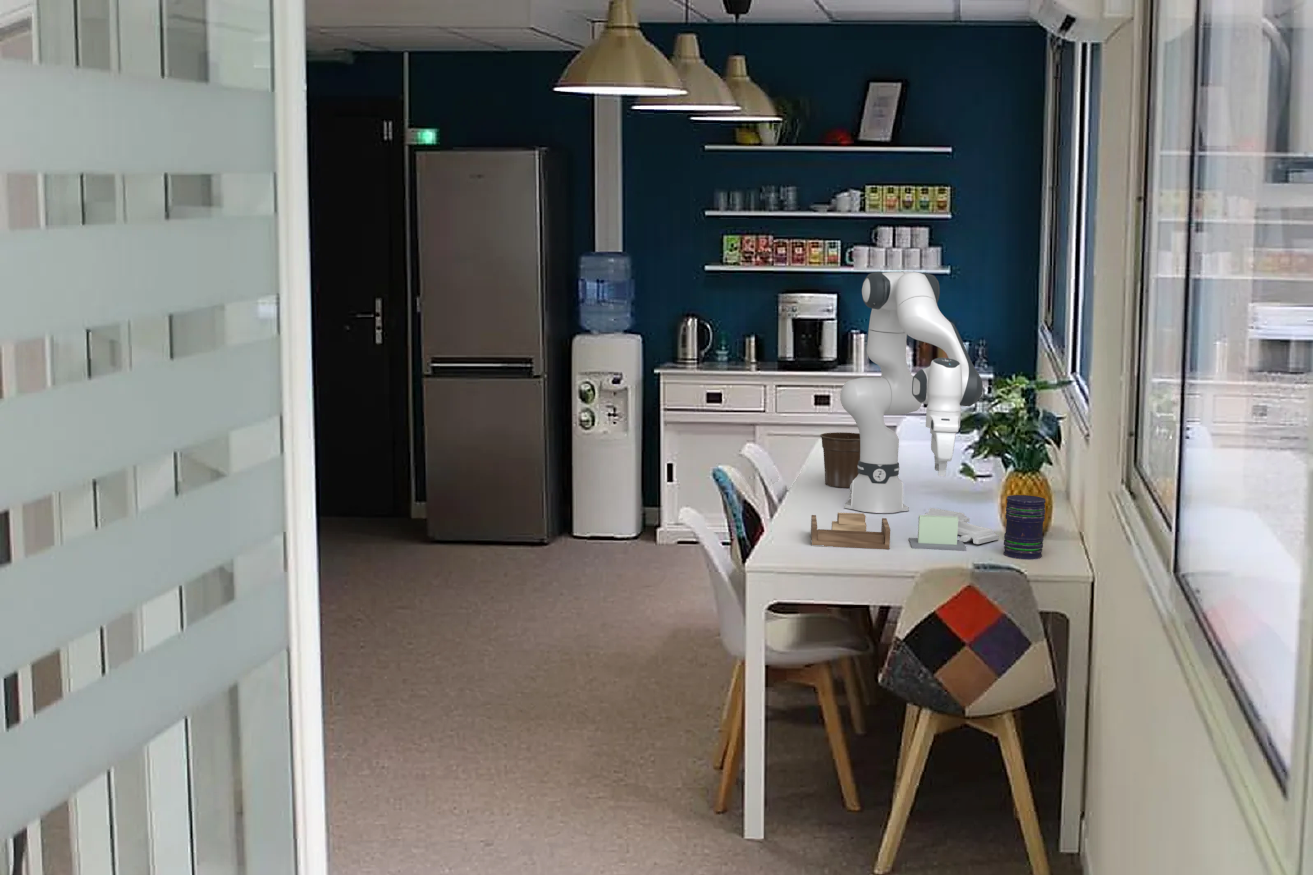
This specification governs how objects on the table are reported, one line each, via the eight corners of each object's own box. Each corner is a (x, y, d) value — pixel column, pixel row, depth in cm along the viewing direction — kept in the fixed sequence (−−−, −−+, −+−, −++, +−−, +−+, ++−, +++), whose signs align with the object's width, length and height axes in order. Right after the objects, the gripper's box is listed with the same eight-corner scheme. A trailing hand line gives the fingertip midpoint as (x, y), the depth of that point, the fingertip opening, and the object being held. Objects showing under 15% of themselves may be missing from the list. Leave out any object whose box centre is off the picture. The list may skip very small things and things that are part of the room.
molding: (920, 517, 468) (920, 507, 468) (960, 517, 470) (961, 507, 469) (963, 544, 426) (964, 533, 426) (1008, 544, 428) (1009, 534, 427)
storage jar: (1003, 558, 413) (1006, 500, 411) (1002, 550, 423) (1005, 494, 421) (1043, 560, 412) (1047, 502, 409) (1041, 553, 421) (1045, 496, 419)
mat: (908, 539, 433) (908, 537, 433) (961, 542, 432) (961, 540, 432) (911, 548, 422) (912, 545, 422) (966, 550, 421) (966, 548, 421)
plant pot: (813, 487, 514) (815, 436, 511) (823, 479, 529) (825, 430, 527) (864, 491, 509) (866, 440, 507) (872, 483, 524) (875, 434, 522)
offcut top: (837, 521, 435) (837, 512, 434) (863, 522, 435) (863, 513, 434) (838, 524, 431) (839, 515, 430) (865, 525, 431) (865, 516, 430)
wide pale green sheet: (917, 541, 429) (918, 514, 428) (955, 542, 428) (957, 516, 427) (918, 542, 426) (919, 516, 425) (956, 544, 425) (958, 518, 425)
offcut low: (831, 531, 435) (831, 520, 435) (865, 532, 435) (865, 522, 434) (831, 534, 431) (832, 523, 431) (866, 535, 431) (866, 525, 430)
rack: (810, 533, 437) (811, 514, 436) (885, 537, 435) (886, 518, 435) (811, 545, 421) (812, 526, 420) (889, 549, 420) (890, 529, 419)
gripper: (927, 415, 433) (924, 466, 435) (934, 425, 413) (931, 479, 415) (951, 416, 433) (948, 467, 435) (959, 426, 413) (956, 480, 415)
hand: (939, 473), depth 425 cm, fingers open, 8 cm apart
